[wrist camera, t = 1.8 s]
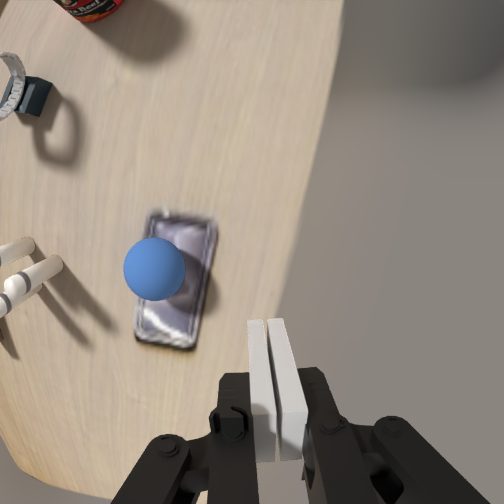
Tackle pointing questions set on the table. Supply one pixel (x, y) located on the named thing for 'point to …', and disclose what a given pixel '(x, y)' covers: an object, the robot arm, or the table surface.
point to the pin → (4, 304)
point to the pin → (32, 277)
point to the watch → (22, 90)
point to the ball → (154, 269)
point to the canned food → (89, 8)
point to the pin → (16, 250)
